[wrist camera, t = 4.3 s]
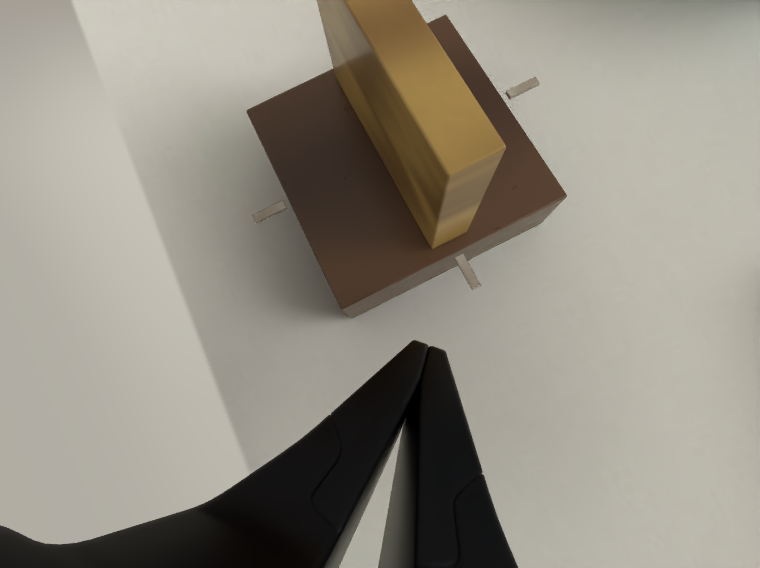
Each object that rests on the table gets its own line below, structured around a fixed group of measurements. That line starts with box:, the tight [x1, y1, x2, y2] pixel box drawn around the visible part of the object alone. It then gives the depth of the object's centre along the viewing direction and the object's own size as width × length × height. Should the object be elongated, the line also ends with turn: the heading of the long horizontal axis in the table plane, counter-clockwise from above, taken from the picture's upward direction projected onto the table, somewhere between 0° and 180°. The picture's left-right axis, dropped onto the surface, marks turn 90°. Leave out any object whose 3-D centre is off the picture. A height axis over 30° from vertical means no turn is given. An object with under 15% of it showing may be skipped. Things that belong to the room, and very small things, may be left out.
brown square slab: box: [247, 15, 567, 318], centre depth 17 cm, size 13×13×3 cm
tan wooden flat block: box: [317, 0, 506, 249], centre depth 13 cm, size 9×2×6 cm, turn 26°
